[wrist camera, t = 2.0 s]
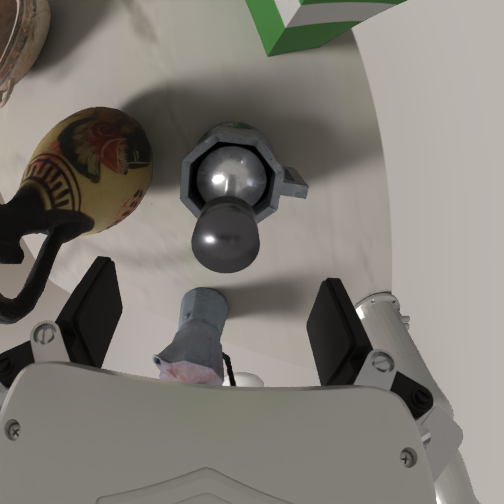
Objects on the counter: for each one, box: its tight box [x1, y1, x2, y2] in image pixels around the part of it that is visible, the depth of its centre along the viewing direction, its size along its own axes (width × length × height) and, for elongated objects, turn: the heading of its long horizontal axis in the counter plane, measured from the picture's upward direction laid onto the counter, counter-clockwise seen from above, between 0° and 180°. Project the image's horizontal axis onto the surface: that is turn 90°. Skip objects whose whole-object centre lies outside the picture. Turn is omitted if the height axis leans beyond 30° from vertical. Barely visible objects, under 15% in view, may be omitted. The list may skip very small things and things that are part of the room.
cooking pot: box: [0, 0, 51, 108], centre depth 16 cm, size 25×19×12 cm
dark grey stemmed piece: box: [191, 146, 266, 273], centre depth 22 cm, size 7×7×14 cm
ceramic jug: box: [0, 107, 153, 324], centre depth 22 cm, size 17×15×30 cm
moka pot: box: [153, 288, 236, 386], centre depth 41 cm, size 10×15×20 cm, turn 50°
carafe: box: [180, 122, 309, 224], centre depth 31 cm, size 14×11×12 cm
